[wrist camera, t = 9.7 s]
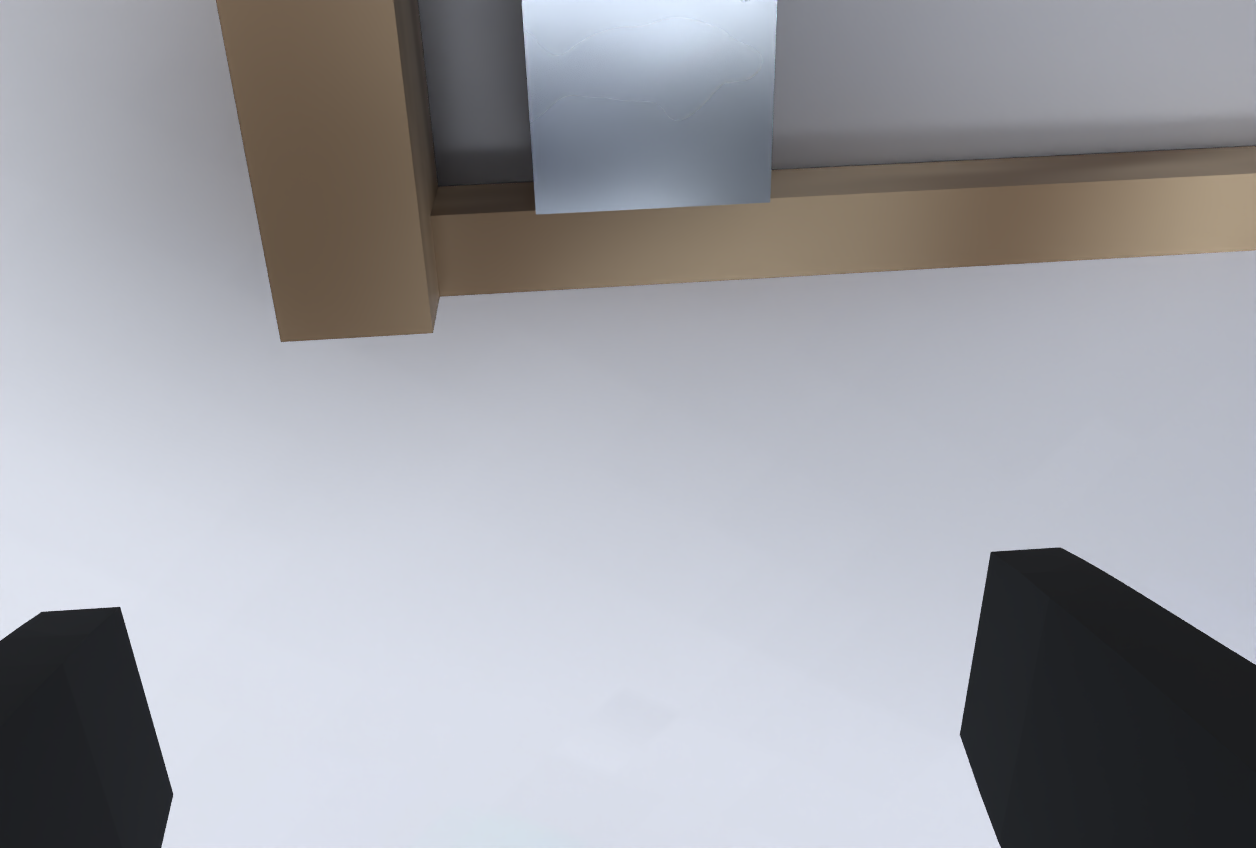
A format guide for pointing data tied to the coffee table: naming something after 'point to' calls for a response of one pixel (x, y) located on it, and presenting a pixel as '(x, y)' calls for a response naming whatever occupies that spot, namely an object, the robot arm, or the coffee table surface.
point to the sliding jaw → (650, 102)
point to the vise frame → (641, 238)
